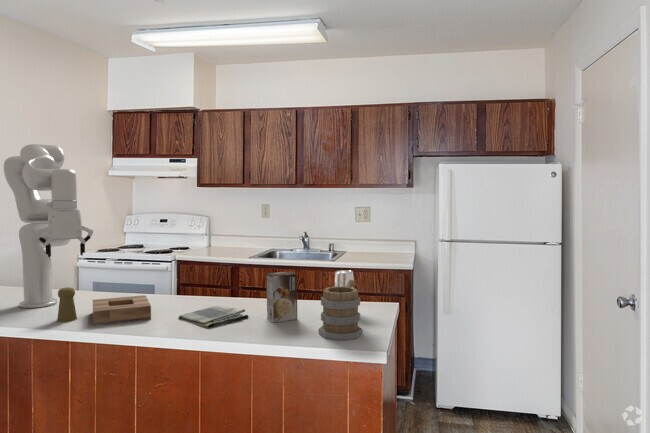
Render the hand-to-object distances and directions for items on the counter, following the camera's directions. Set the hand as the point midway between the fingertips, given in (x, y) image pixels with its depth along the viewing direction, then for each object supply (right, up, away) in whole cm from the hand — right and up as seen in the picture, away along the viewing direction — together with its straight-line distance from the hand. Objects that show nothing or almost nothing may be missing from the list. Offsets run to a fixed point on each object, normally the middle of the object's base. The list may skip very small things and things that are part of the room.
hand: (65, 255), depth 163 cm
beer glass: (+96, -22, +13) cm, 99 cm away
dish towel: (+50, -23, +4) cm, 55 cm away
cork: (0, -22, +1) cm, 22 cm away
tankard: (+95, -23, -10) cm, 98 cm away
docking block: (+16, -22, +6) cm, 28 cm away
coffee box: (+74, -22, +3) cm, 77 cm away
